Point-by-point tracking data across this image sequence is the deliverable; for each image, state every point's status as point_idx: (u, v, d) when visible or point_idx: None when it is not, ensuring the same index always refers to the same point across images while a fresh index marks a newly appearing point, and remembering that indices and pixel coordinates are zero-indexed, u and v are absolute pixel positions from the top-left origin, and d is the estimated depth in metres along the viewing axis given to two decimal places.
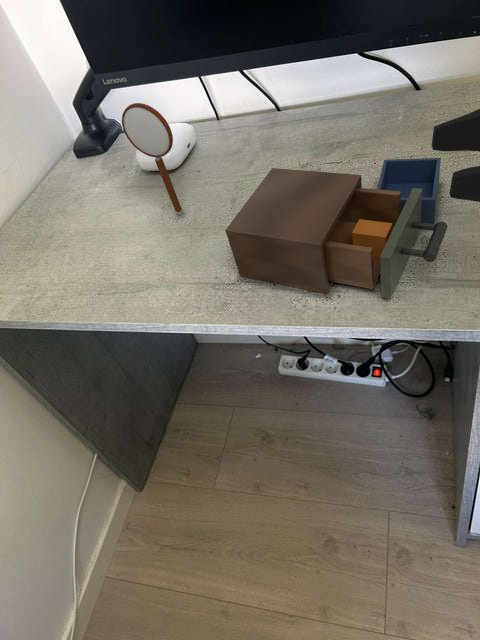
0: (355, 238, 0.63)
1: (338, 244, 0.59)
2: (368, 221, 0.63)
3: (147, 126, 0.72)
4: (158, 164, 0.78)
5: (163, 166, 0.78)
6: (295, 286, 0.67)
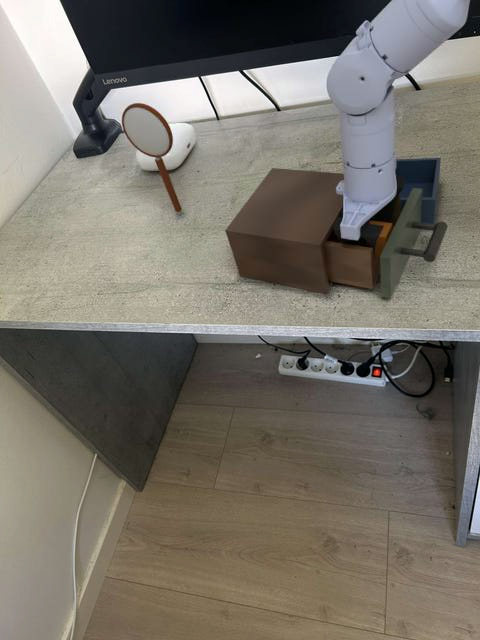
0: None
1: (338, 244, 0.59)
2: None
3: (147, 126, 0.72)
4: (158, 164, 0.78)
5: (163, 166, 0.78)
6: (295, 286, 0.67)
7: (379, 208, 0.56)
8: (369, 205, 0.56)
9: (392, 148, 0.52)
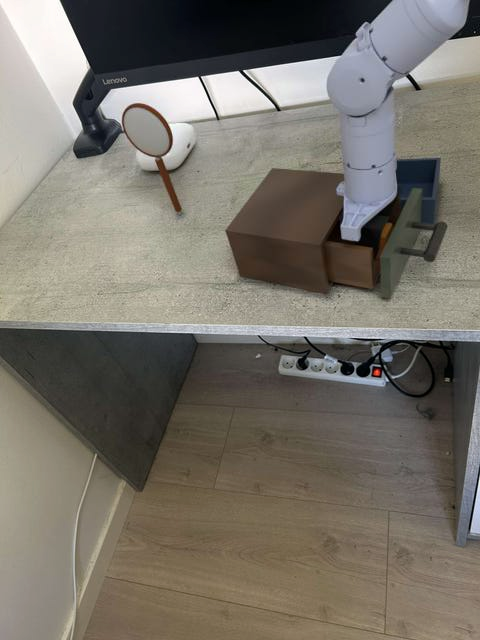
0: None
1: (338, 244, 0.59)
2: None
3: (147, 126, 0.72)
4: (158, 164, 0.78)
5: (163, 166, 0.78)
6: (295, 286, 0.67)
7: (379, 209, 0.56)
8: (369, 206, 0.56)
9: (392, 149, 0.53)
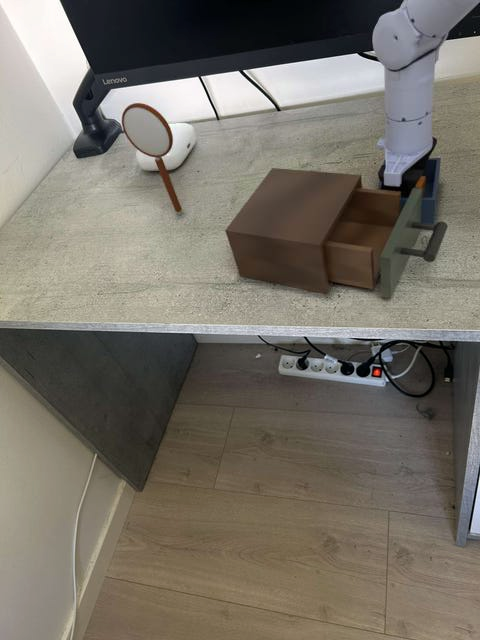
0: None
1: (338, 244, 0.59)
2: None
3: (147, 126, 0.72)
4: (158, 164, 0.78)
5: (163, 166, 0.78)
6: (295, 286, 0.67)
7: (418, 158, 0.63)
8: (408, 156, 0.63)
9: (425, 108, 0.59)
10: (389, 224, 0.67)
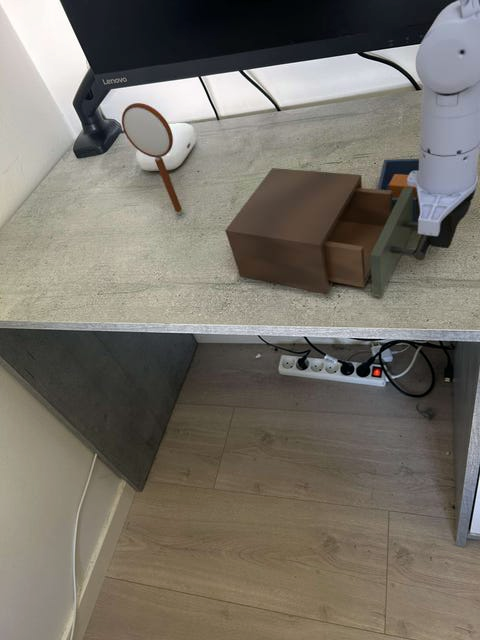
0: (391, 190, 0.70)
1: (329, 243, 0.60)
2: (403, 175, 0.70)
3: (147, 126, 0.72)
4: (158, 164, 0.78)
5: (163, 166, 0.78)
6: (295, 286, 0.67)
7: (460, 200, 0.50)
8: (448, 197, 0.51)
9: None
10: (381, 223, 0.68)
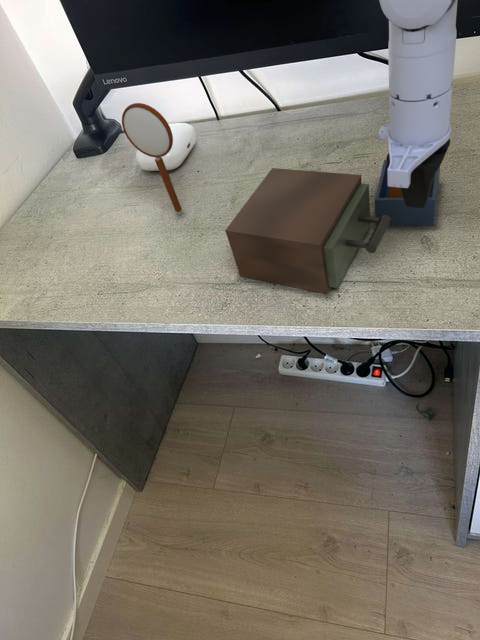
0: (391, 190, 0.70)
1: None
2: None
3: (147, 126, 0.72)
4: (158, 164, 0.78)
5: (163, 166, 0.78)
6: (295, 286, 0.67)
7: (432, 151, 0.48)
8: (420, 148, 0.48)
9: (451, 76, 0.44)
10: (341, 218, 0.70)
